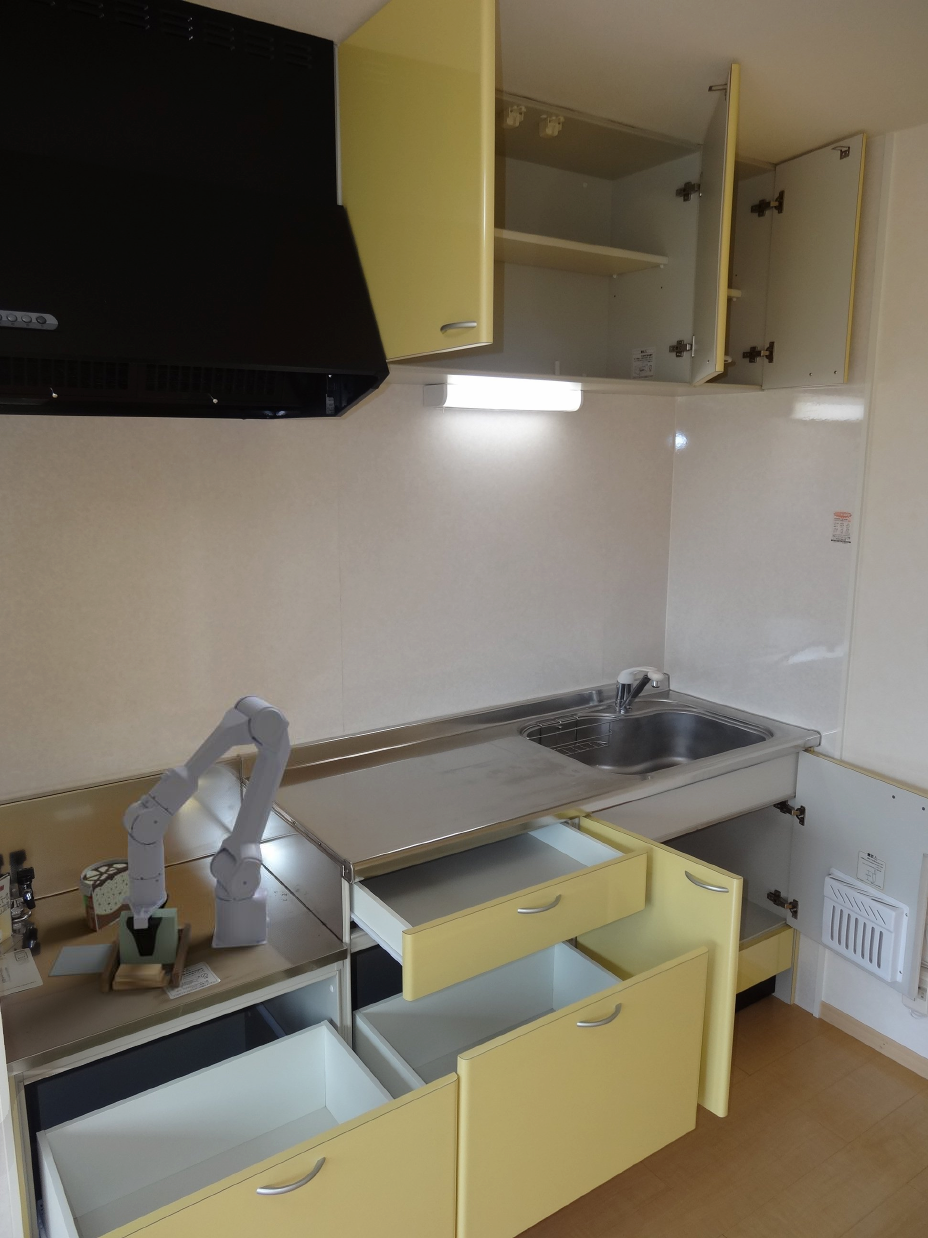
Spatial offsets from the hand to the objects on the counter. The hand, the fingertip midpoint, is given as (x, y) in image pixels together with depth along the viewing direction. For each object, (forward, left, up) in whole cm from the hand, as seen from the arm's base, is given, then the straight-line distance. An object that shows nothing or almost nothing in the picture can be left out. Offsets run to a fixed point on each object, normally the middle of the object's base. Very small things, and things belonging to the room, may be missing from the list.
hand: (149, 946), depth 153 cm
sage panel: (0, 0, -3) cm, 3 cm away
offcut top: (0, +7, -1) cm, 7 cm away
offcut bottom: (0, +7, -4) cm, 8 cm away
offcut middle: (0, +7, -2) cm, 7 cm away
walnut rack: (0, +1, -3) cm, 3 cm away
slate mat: (+11, -2, -3) cm, 11 cm away
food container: (+11, -16, -3) cm, 20 cm away
